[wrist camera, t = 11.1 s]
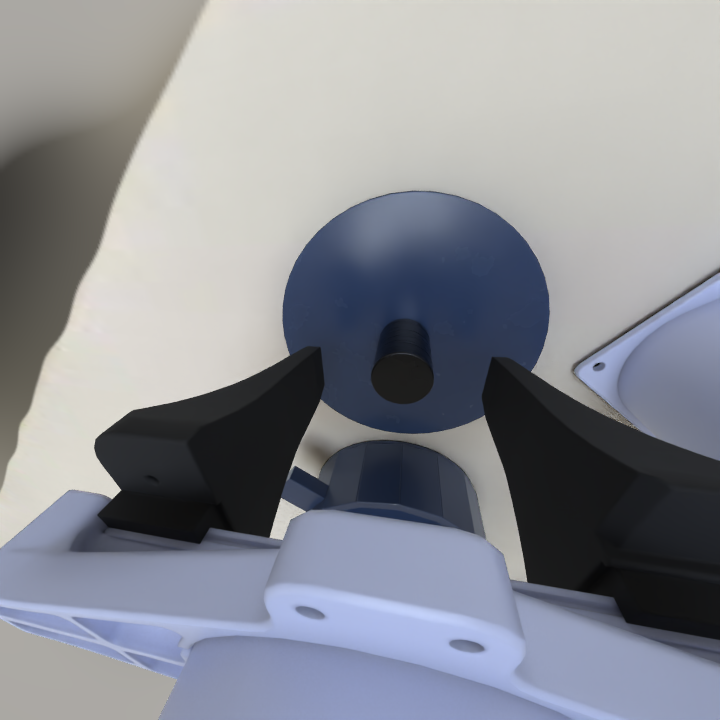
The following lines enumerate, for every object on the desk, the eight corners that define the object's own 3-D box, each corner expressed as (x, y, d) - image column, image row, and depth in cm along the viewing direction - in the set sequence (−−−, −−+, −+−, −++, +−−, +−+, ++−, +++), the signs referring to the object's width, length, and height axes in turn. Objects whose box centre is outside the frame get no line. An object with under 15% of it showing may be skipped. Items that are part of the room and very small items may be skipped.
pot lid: (384, 111, 11) (367, 58, 7) (603, 316, 13) (687, 368, 9) (254, 344, 17) (207, 388, 13) (415, 450, 20) (415, 514, 16)
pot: (347, 390, 18) (328, 447, 14) (535, 517, 21) (564, 593, 17) (269, 474, 24) (240, 530, 20) (423, 562, 28) (424, 624, 24)
